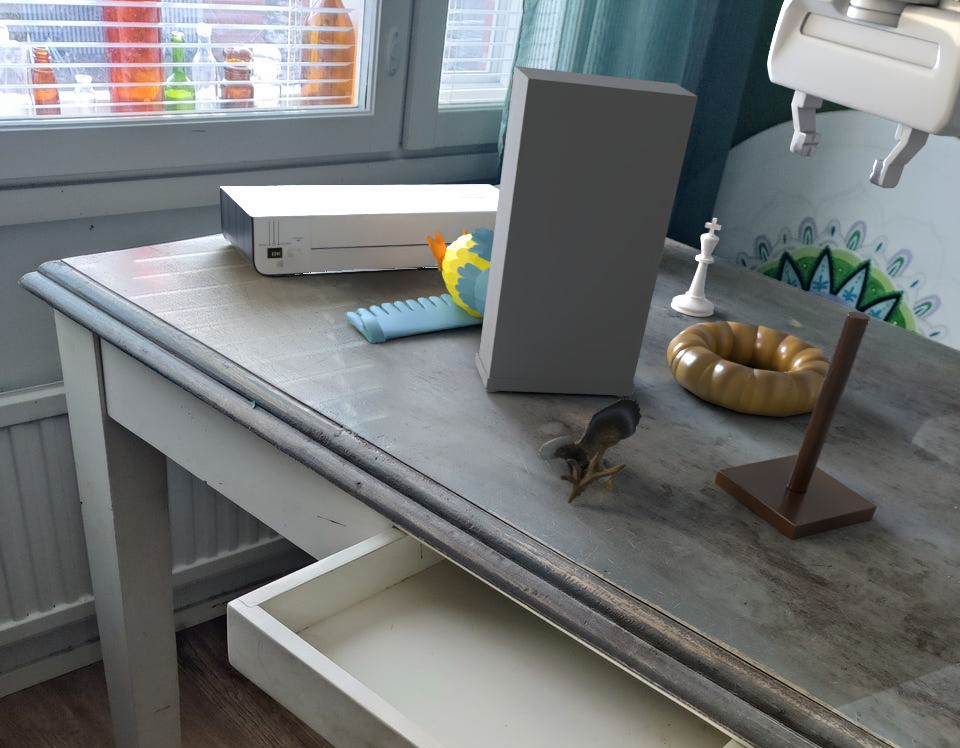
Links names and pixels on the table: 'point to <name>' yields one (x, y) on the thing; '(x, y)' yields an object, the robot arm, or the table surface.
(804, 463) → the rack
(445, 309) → the blue yellow toy
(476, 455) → the table surface
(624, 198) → the gray rectangular block
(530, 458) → the table surface
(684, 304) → the chess piece
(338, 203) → the laminator
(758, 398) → the bread ring
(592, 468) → the eagle figurine
